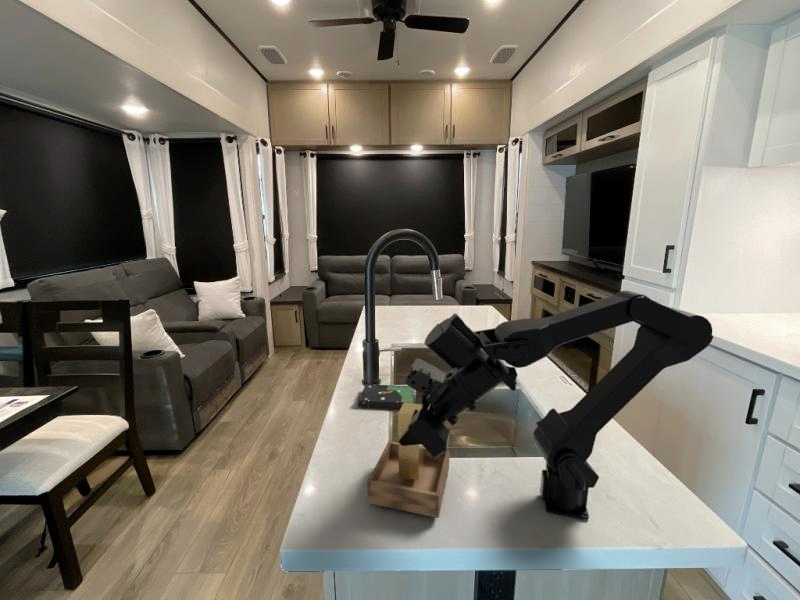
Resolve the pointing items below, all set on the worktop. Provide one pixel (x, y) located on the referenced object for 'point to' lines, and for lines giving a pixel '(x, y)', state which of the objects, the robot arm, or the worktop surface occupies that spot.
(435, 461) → the wooden storage tray
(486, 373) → the robot arm
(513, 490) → the worktop surface
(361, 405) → the disk drive
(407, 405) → the brass bar
